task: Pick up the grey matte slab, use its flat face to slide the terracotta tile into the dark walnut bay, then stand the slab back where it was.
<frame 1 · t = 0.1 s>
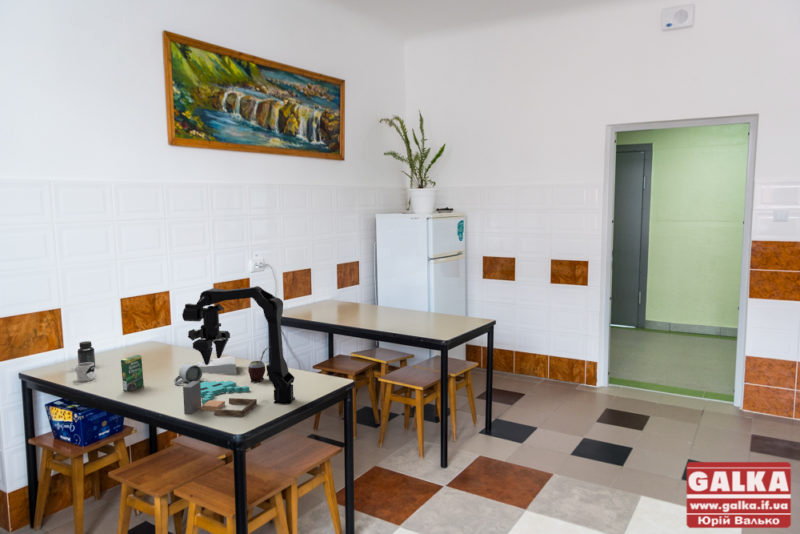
hand: (212, 361, 227), 15 cm above the table, tool pointing down, fingers open, 9 cm apart
ceramic mug: (187, 382, 249), on the table
mug: (88, 378, 256), on the table
ramp: (216, 370, 267), on the table
coffee box: (133, 388, 241), on the table
walnut bay: (235, 409, 217), on the table
mate gourd: (258, 381, 251), on the table
terracotta tile: (213, 408, 219), on the table
grey matte slab: (193, 410, 216), on the table
supplement bottle: (87, 368, 271), on the table
alien figure: (213, 394, 236), on the table
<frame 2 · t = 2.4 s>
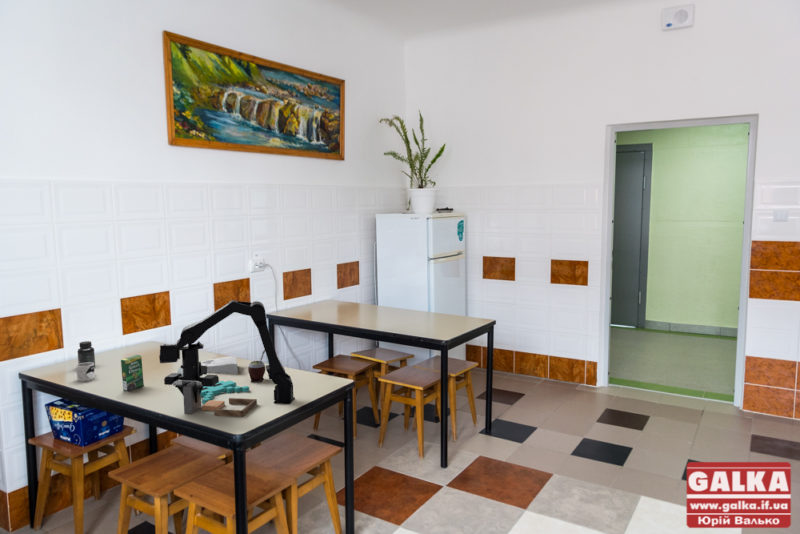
hand: (192, 402, 216), 3 cm above the table, tool pointing down, fingers closed on grey matte slab, 3 cm apart
grey matte slab: (193, 410, 216), on the table, touching gripper
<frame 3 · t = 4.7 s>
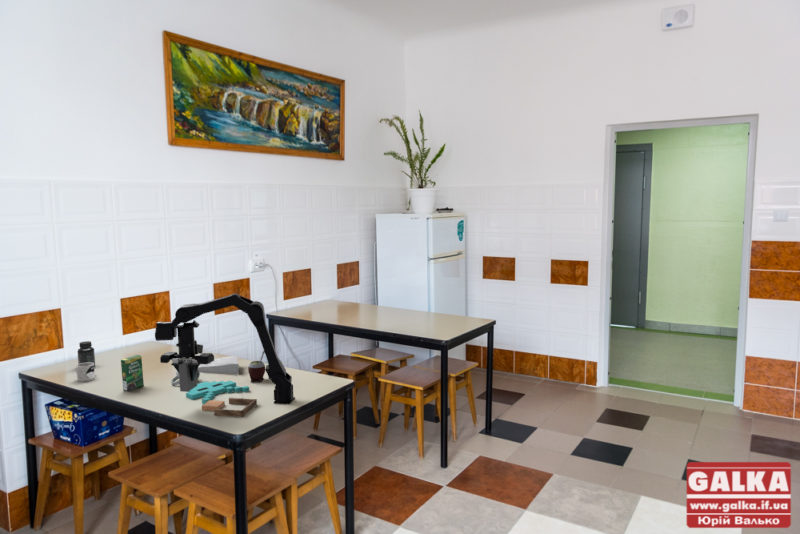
hand: (188, 380, 218), 10 cm above the table, tool pointing down, fingers closed on grey matte slab, 3 cm apart
grey matte slab: (188, 388, 219), point 7 cm above the table, touching gripper
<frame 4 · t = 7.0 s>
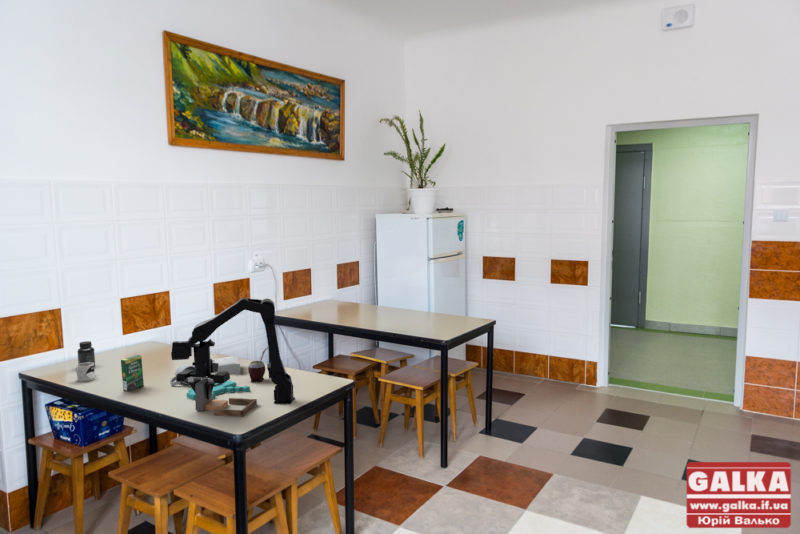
hand: (204, 399, 218), 3 cm above the table, tool pointing down, fingers closed on grey matte slab, 3 cm apart
terracotta tile: (216, 408, 219), on the table
grey matte slab: (203, 407, 218), on the table, touching gripper
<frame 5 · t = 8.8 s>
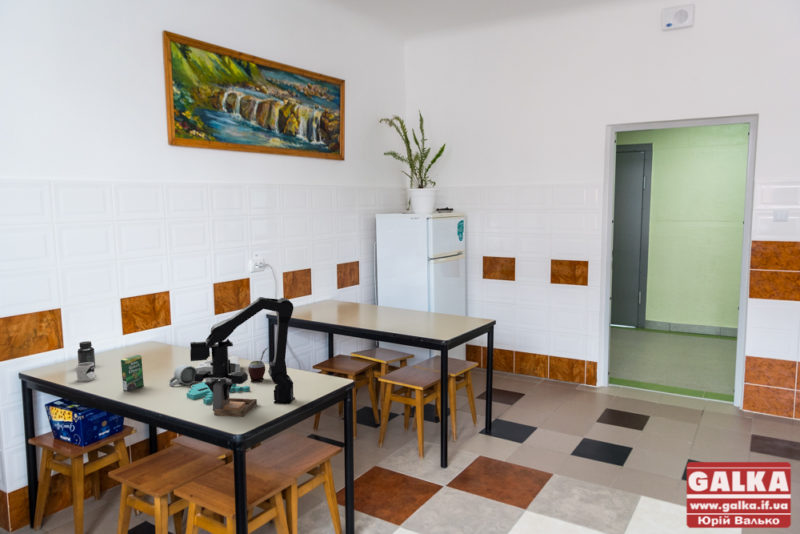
hand: (221, 399, 217), 3 cm above the table, tool pointing down, fingers closed on grey matte slab, 3 cm apart
terracotta tile: (234, 409, 218), on the table
grey matte slab: (221, 407, 217), on the table, tilted 7°, touching gripper
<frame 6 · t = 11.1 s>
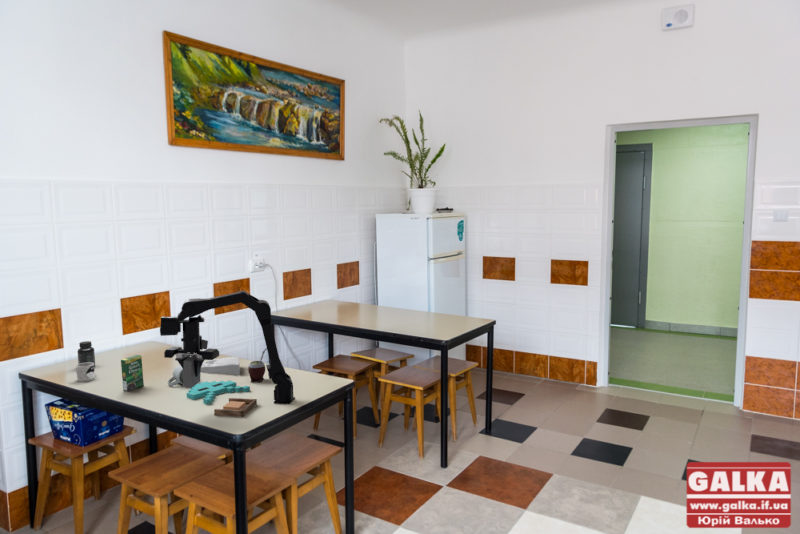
hand: (192, 376, 214), 13 cm above the table, tool pointing down, fingers closed on grey matte slab, 3 cm apart
grey matte slab: (191, 384, 215), point 10 cm above the table, tilted 7°, touching gripper
when the fingers open (4 cm above the table, at t = 12.9 s): grey matte slab drops 2 cm, on the table.
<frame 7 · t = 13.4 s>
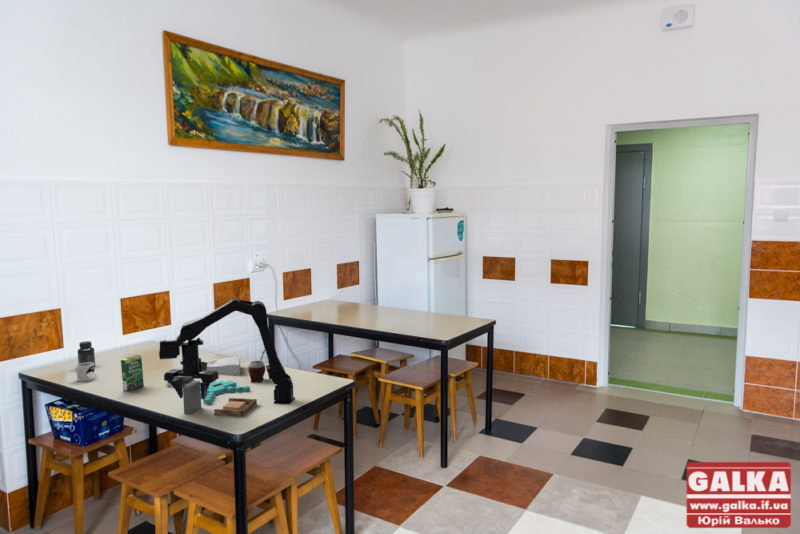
hand: (192, 398, 215), 4 cm above the table, tool pointing down, fingers open, 8 cm apart
grey matte slab: (192, 410, 216), on the table
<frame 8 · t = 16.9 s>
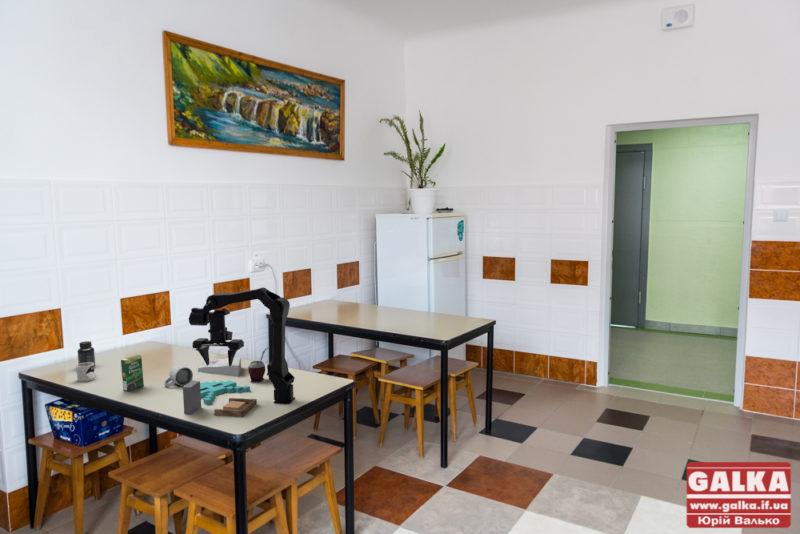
hand: (219, 365, 228), 13 cm above the table, tool pointing down, fingers open, 9 cm apart
at the end: terracotta tile 2.0 cm off-centre on the walnut bay, point -0.5 cm above the walnut bay's base; grey matte slab tilted 0°; grey matte slab inside the target area (0.1 cm from its centre), on the table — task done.
